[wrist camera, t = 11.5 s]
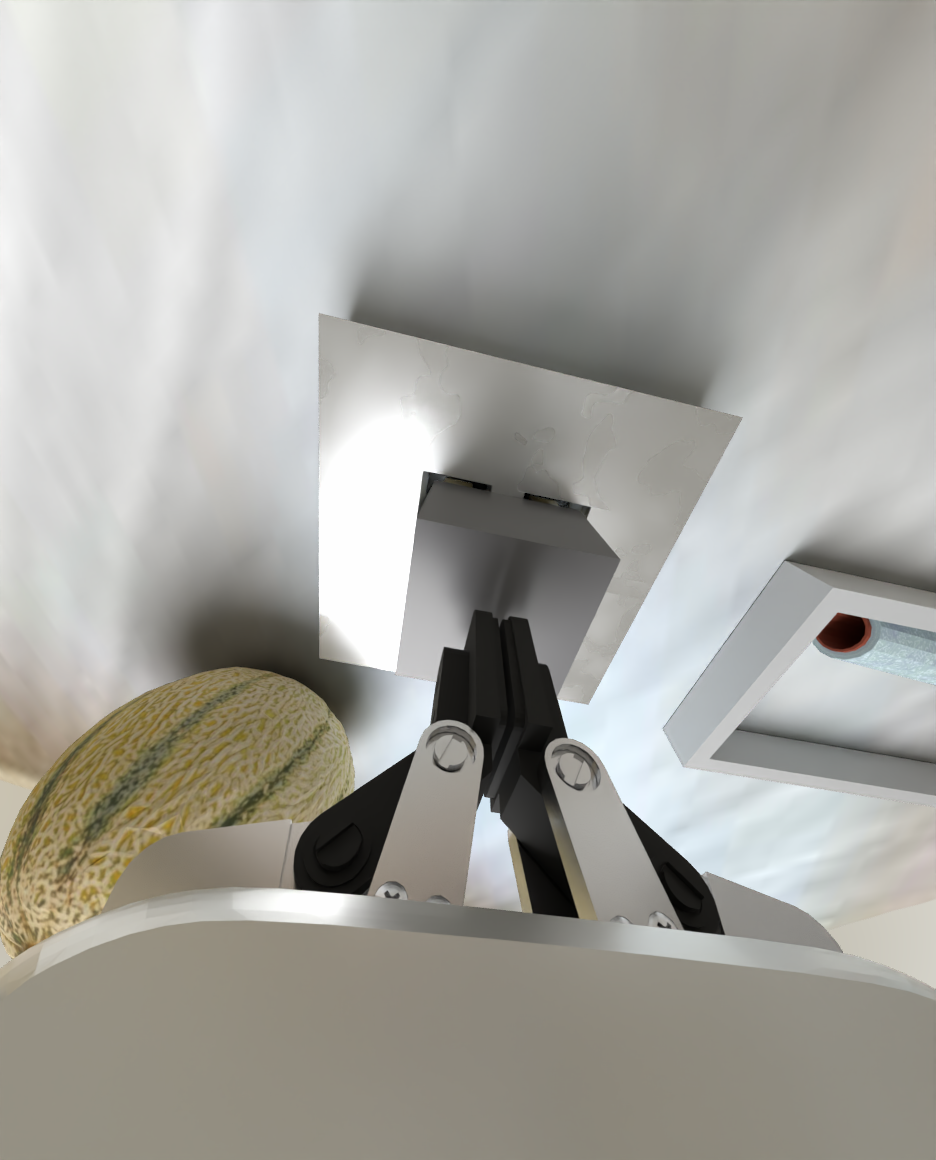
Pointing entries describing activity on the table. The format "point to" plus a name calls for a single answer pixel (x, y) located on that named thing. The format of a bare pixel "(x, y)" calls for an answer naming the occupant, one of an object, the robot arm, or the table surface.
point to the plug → (500, 575)
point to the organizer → (760, 659)
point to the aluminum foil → (880, 646)
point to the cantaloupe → (166, 788)
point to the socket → (489, 475)
